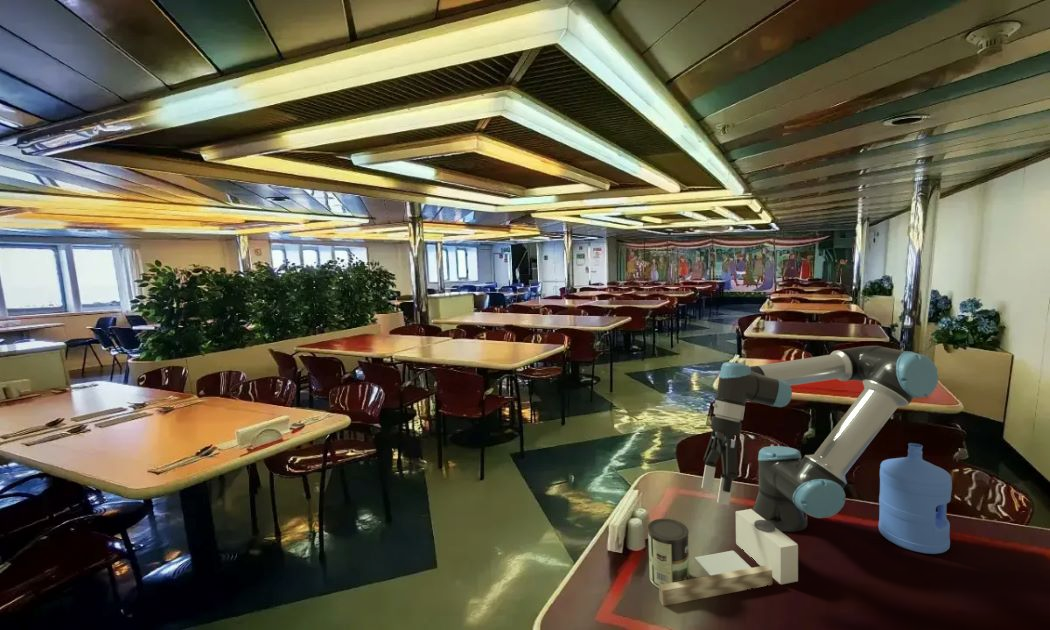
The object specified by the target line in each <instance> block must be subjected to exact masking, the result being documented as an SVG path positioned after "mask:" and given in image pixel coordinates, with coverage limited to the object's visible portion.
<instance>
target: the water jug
mask: <svg viewBox="0 0 1050 630" xmlns="http://www.w3.org/2000/svg"><path fill="white" fill-rule="evenodd" d="M907 445H908V449H907V456H905V457H903V456H902V457H896V458H887V459H884V460H882V461H881V463H880V465H879V467H880V468H879V496H878V504H879V510H878V513H879V515H878V517H879V520H878V531H879V533H880V534H881V535H882V536H883V537H884V538H885V539H886V540H888V541H889V542H890V543H892V544H895V545H896V546H898V547H901V548H903V549H906V550H910V551H912V552H916V553H920V554H921V553H922V554H930V555H937V554H943V553H945V552H947V551H948V550H949V549H950V546H951V539H950V534H951V533H950V531H951V530H950V529H951V528H950V527H951V523H950V521H949V520H948V519H947V505H948V504H949V503H950V502H951V500H952V497H951V496H952V491H953V481H952V476H951V474H950V473H949V472H948V471H947V470H945V468H942V467H940V466H937V465H935V464H933V463H931V462H929V461H926V460H925V459H923V453H924V452H923V447H924V446H923V445H922V444H920V443H916V442H915V443H914V442H909V443H908V444H907ZM936 510H937V511H936Z"/></svg>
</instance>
